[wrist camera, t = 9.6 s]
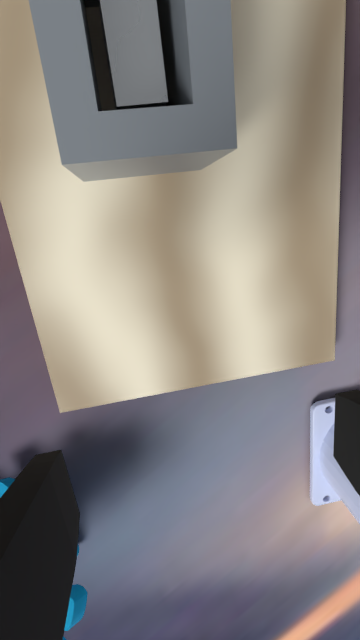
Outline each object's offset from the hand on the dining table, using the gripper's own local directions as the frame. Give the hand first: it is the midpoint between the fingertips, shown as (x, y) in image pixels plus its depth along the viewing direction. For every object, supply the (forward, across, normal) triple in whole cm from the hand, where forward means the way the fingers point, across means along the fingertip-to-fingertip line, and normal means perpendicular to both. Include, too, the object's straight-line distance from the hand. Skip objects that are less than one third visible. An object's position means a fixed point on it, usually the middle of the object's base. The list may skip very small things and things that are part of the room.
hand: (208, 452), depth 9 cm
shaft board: (+9, -2, -7) cm, 12 cm away
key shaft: (+9, 0, -11) cm, 14 cm away
